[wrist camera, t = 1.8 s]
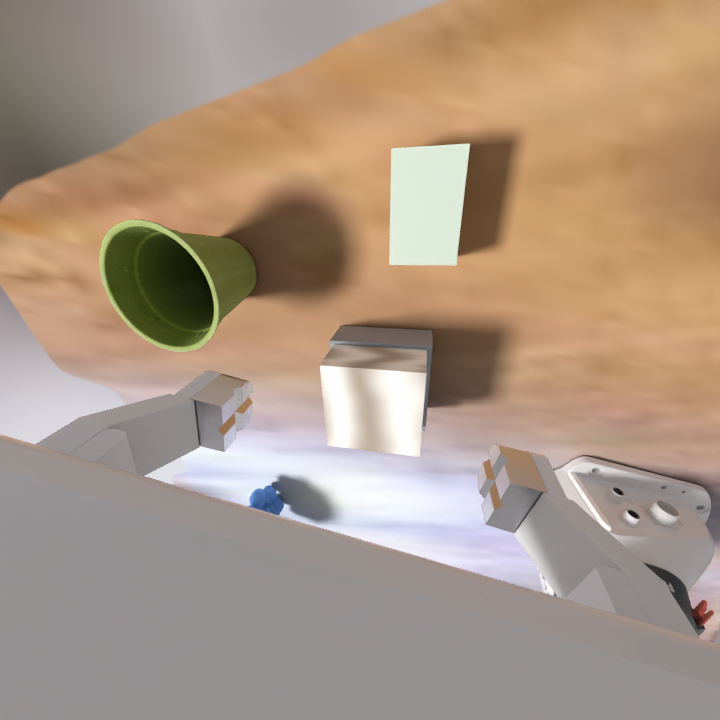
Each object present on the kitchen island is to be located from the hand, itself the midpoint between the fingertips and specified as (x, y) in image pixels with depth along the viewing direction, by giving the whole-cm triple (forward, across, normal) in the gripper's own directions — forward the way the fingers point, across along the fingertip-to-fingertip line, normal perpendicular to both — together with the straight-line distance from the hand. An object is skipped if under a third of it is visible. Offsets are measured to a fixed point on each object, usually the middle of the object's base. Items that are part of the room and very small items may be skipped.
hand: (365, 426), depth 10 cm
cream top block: (+21, 0, +12) cm, 25 cm away
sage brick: (+26, 0, -6) cm, 27 cm away
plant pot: (+27, +21, +4) cm, 34 cm away
